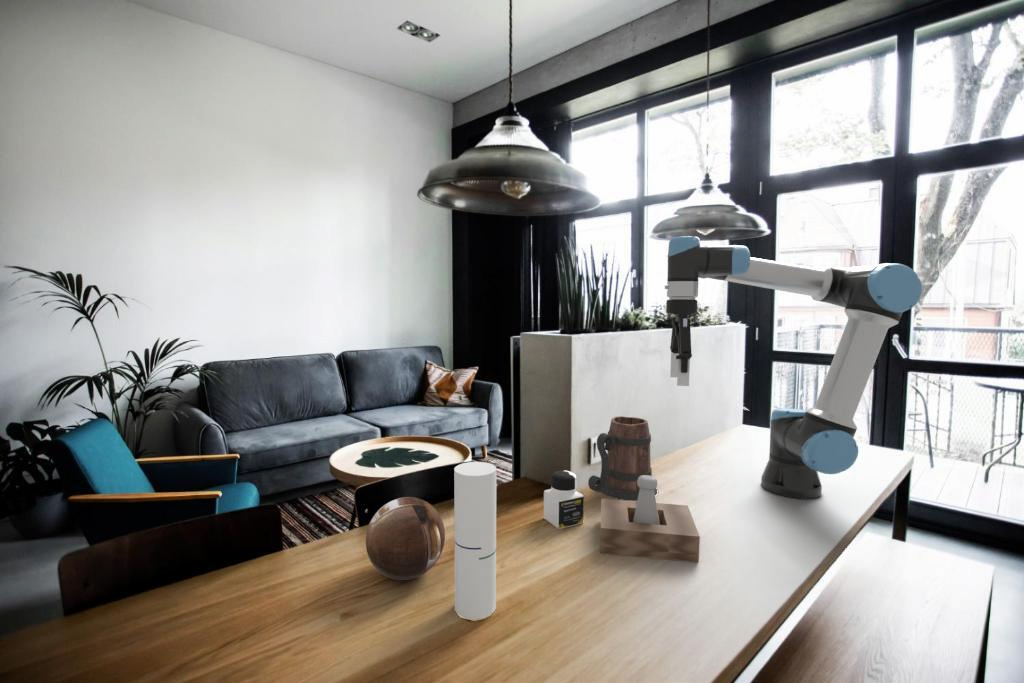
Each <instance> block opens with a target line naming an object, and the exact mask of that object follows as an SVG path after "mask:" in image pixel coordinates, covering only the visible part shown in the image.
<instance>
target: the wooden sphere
mask: <svg viewBox="0 0 1024 683" xmlns="http://www.w3.org/2000/svg"><path fill="white" fill-rule="evenodd" d="M444 525H445V524H444V522H443V519H442V517H441V515H440V512H438V511H437V509H436V508H435V507H434V506H433V505H432V504H430V503H429V502H428V501H425V500H424V499H423V498H422V499H421V498H418V497H413V496H406V497H405V496H403V497H399V498H396V499H393V500H390V501H388V502H387V503H385V504H383V506H381V507H380V508H379V509H378V510H377V511H376V512H375V514H374V515H373V516H372V518H371V519H370V522H369V523H368V527H367V529H366V533H365V548H366V553H367V556H368V559H369V561H370V563H371V564H372V566H373V567H374V569H376V570H377V572H379V573H380V574H382V575H383V576H384V577H387V578H388V579H392V580H396V581H408V580H409V581H410V580H414V579H416V578H419V577H421V576H423V575H424V574H426V573H427V572H428V571H430V570H431V569H432V568H433V567H434V566H435V565H436V563H437V562H438V560H439V559H440V557H441V554H442V553H443V550H444V546H445V543H446V542H445V540H446V533H445V532H446V530H445V526H444Z"/></svg>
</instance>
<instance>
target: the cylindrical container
mask: <svg viewBox="0 0 1024 683" xmlns="http://www.w3.org/2000/svg"><path fill="white" fill-rule="evenodd" d="M453 470H454V474H453V476H454V478H453V480H454V484H453V485H454V489H453V490H454V492H453V494H454V502H453V503H454V505H453V509H454V512H453V513H454V514H453V515H454V516H453V517H454V527H453V528H454V612H455V611H456V612H457V613H458V614H459V615H461V616H462V617H464V618H467V619H475V620H476V619H481V618H485V617H487V616H490V615H491V614H492V613H493V612H494V611H495V609H496V610H497V466H496V465H495V464H492V463H489V462H483V461H469V462H468V461H467V462H463V463H459V464H458V465H456V466H455V467H454V468H453ZM495 612H496V611H495Z"/></svg>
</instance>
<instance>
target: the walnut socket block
mask: <svg viewBox="0 0 1024 683" xmlns="http://www.w3.org/2000/svg"><path fill="white" fill-rule="evenodd" d="M600 502H601V503H600V504H601V506H600V533H599V536H600V539H599V553H600V554H607V553H608V554H609V555H619V556H621V555H622V556H627V555H628V556H631V557H640V558H648V559H649V558H650V559H661V560H670V561H681V562H690V563H692V562H693V563H699V562H700V539H701V536H700V534H699V531H698V529H697V526H696V523H695V521H694V518H693V516H692V513H691V511H690V507H689V505H687V504H685V505H684V504H672V503H661V502H656V505H657V510H658V516H659V522H660V525H656V524H644V523H633V519H634V514H635V509H636V505H637V501H627V500H620V499H612V498H610V499H609V498H608V499H607V498H601V501H600Z"/></svg>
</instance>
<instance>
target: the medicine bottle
mask: <svg viewBox="0 0 1024 683" xmlns="http://www.w3.org/2000/svg"><path fill="white" fill-rule="evenodd" d="M577 477H578V476H577V475H576V473H575V472H572V471H569V470H564V469H563V470H557V471H554V472H553V473H552V474H551V476H550V478H551V480H550V481H551V482H550V483H551V484H550V488H549V489H545V490H544V491H543V519H545V521H547V522H548V523H549V524H551V525H553V527H556V529H558V530H563V529H566V528H570V527H571V528H572V527H574V526H578V525H582V524H584V513H585V512H584V511H585V510H584V506H585V505H584V503H585V502H584V501H585V495H584V494H583V493H580V492H579V491H577Z"/></svg>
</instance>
